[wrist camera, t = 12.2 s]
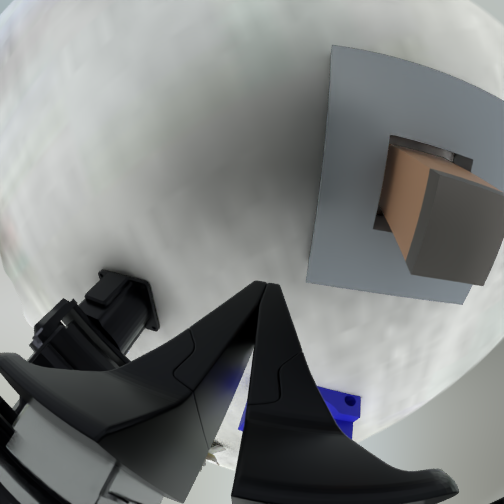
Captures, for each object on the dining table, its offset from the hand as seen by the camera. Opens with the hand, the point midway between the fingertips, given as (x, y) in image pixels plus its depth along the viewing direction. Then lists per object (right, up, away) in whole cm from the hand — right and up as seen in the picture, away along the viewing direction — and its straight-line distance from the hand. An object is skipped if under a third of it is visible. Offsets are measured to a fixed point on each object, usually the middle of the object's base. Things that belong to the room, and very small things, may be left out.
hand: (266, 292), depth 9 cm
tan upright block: (+10, +6, +5) cm, 12 cm away
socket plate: (+10, +6, +5) cm, 12 cm away
